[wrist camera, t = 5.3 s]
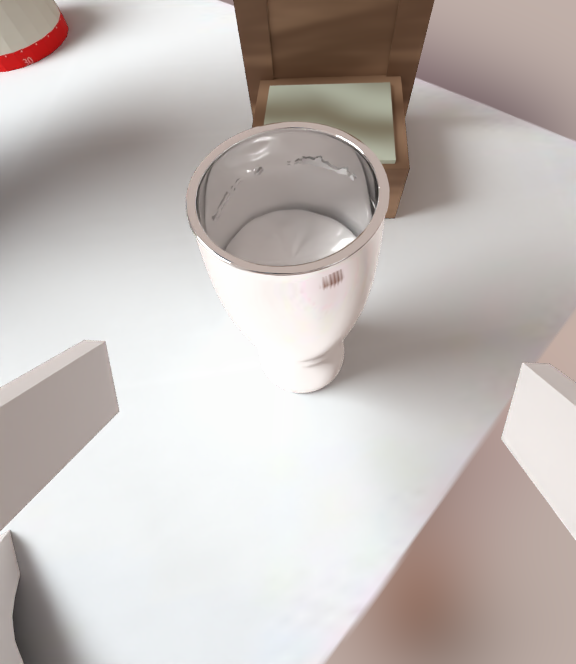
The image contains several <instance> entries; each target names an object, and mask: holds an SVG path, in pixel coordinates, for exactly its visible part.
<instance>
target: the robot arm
mask: <svg viewBox="0 0 576 664" xmlns="http://www.w3.org/2000/svg"><path fill="white" fill-rule="evenodd" d="M118 412H119V407H118V402H117V397H116V392H115V387H114V382H113V377H112V372H111V367H110V362H109V357H108V352H107V347H106V342H105V341H92V340H83V341H81V342H80V343H78V344H76V345H74V346H73V347H71V348H69V349H67V350H66V351H64V352H62V353H60V354H59V355H57V356H55V357H53V358H51V359H50V360H48V361H46V362H44V363H43V364H41V365H39V366H37V367H36V368H34V369H32V370H30V371H29V372H27V373H25V374H23V375H21V376H20V377H18V378H16V379H14V380H13V381H11V382H9V383H7V384H6V385H4V386H2V387H0V531H1V530H2V529H3V528H4V527H5V526H6V525H7V524H8V523H9V522H10V521H11V520H12V519H13V518H14V517H15V516H16V515H17V514H18V513H19V512H20V511H21V510H22V509H23V508H24V507H25V506H26V505H27V504H28V503H29V502H30V501H31V500H32V499H33V498H34V497H35V496H36V495H37V494H38V493H39V492H40V491H41V490H42V489H43V488H44V487H45V486H46V485H47V484H48V483H49V482H50V481H51V480H52V479H53V478H54V477H55V476H56V475H57V474H58V473H59V472H60V471H61V470H62V469H63V468H64V467H65V466H66V465H67V464H68V463H69V462H70V461H71V460H72V459H73V458H74V457H75V456H76V455H77V454H78V453H79V452H80V451H81V450H82V449H83V448H84V446H85V445H86V444H87V443H88V442H89V441H90V440H91V439H92V438H93V437H94V436H95V435H96V434H97V433H98V432H99V431H100V430H101V429H102V428H103V427H104V426H105V425H106V424H107V423H108V422H109V421H110V420H111V419H112V418H113V417H114V416H115V415H116V414H117V413H118ZM501 439H502V441H503V442H504V443H505V445H506V446H507V448H508V449H509V450H510V452H511V453H512V454H513V456H514V457H515V459H516V460H517V461H518V463H519V464H520V465H521V467H522V468H523V469H524V471H525V472H526V474H527V475H528V476H529V478H530V479H531V480H532V482H533V483H534V484H535V486H536V487H537V489H538V490H539V491H540V492H541V494H542V495H543V497H544V498H545V499H546V501H547V502H548V503H549V505H550V506H551V507H552V509H553V510H554V512H555V513H556V514H557V516H558V517H559V519H560V520H561V521H562V523H563V524H564V525H565V527H566V528H567V529H568V531H569V532H570V534H571V535H572V536H573V538H574V539H575V540H576V382H575V381H573V380H572V379H570V378H569V377H568V376H566V375H565V374H563V373H562V372H561V371H559V370H558V369H557V368H555V367H554V366H553V365H551V364H545V363H525V362H523V363H522V366H521V370H520V373H519V377H518V380H517V384H516V387H515V391H514V394H513V398H512V402H511V405H510V409H509V412H508V416H507V419H506V423H505V426H504V430H503V434H502V437H501Z"/></svg>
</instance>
